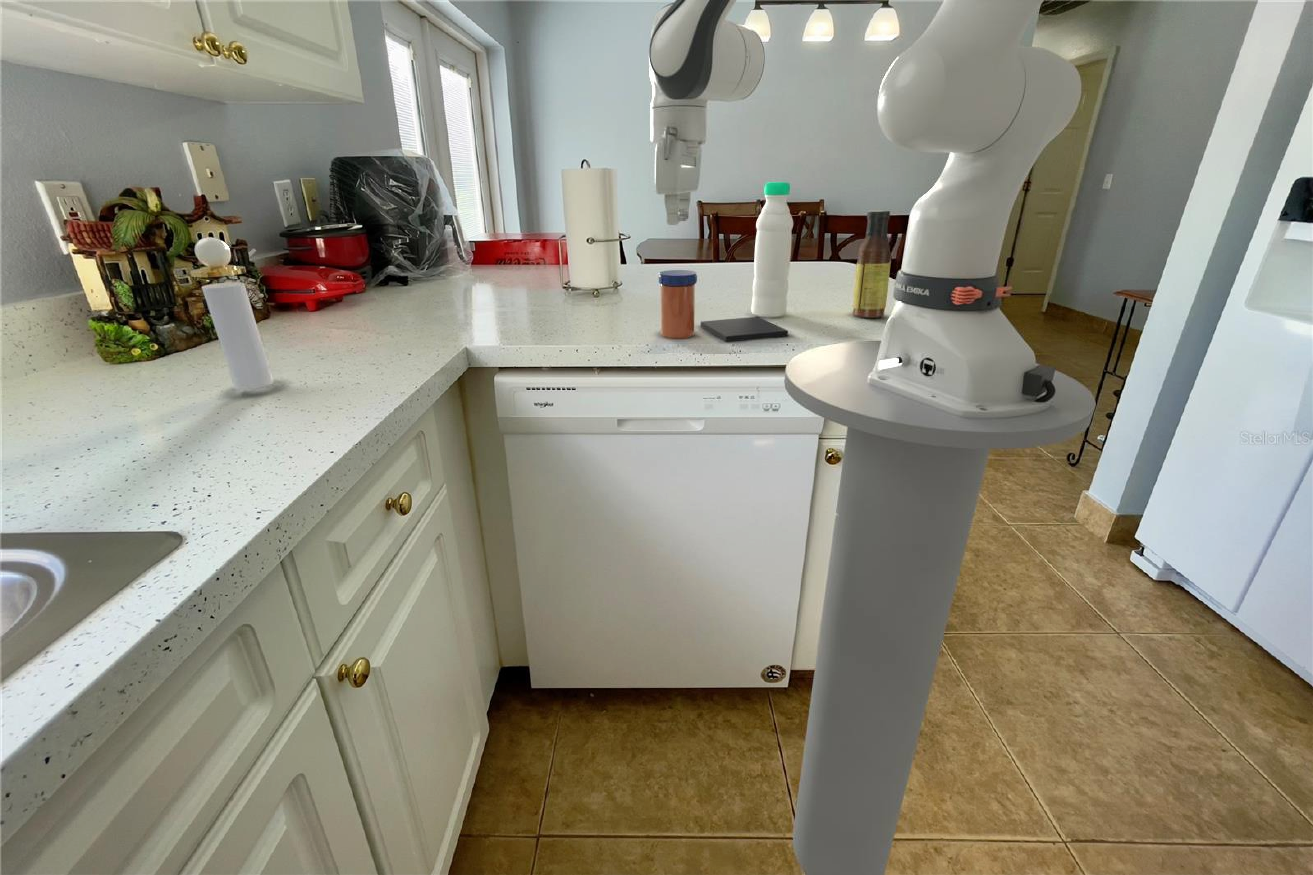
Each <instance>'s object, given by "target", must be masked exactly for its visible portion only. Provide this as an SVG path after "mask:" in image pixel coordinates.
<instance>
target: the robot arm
mask: <svg viewBox="0 0 1313 875" xmlns="http://www.w3.org/2000/svg"><path fill="white" fill-rule="evenodd" d="M1044 1H1045V0H943V1H942V4H941V6H940V8H939V9H938V10H937V12H936V14H935V16H934V17H933V19H932V21H931V22H930V24H929V25H928V26H927V28H926V29H925V31H924V32H923V33H922V34H921V35H920V36H919V38H918V39H916V41H915V42H914V43H913V44H911V45H910V46H908V48H906V50H904V51H903V52H902V53H901V54H900V55H899V56H897V57H896V58H895V59H894V61H893V62H892V64H891V65H890V67H889V68H888V70H887V72H886V73H885V76H884V78H883V79H882V81H881V83H880V84H881V85H880V88H879V91H878V96H877V103H876V107H877V108H876V113H877V120H878V125H879V128H880V130H881V132H882V134H883V135H884V136H885V137H886V139H887V140H888V141H890V142H892V143H893V144H897V145H899V146H902V147H904V148H907V149H911V150H914V151H918V152H922V153H927V154H930V153H931V154H932V153H933V154H943V153H944V154H949V155H948V158H947V161H946V163H945V165H944V167H943V170H942V172H941V174H940V176H939V178H937V181H936V182H935V184H934V185H933V186H932V188H930V190H929V191H927V192H926V193H925V194H924V195H922V196H921V197H920V198H919V199H918V200H917V201H916V202H915V203H914V204H913V206H912V208H911V210H910V213H909V216H908V217H909V218H908V222H907V223H908V224H907V230H906V235H905V242H904V248H903V254H902V263H901V268H900V269H899V270H898V271H897V272H896V276H895V277H896V278H895V280H894V284H893V287H894V289H893V295H892V297H893V298H894V300H895V302H894V306H893V308H892V311H891V313H890V315H889V317H888V319H887V321H886V324H885V325H884V330H883V333H882V338H881V340H880V341H881V345H880V349H879V353H878V357H877V360H876V364H875V366H874V369H873V372H871V373H870V374H869V376H868V380H867V383H869V384H871V385H873V386H876V387H879V388H882V389H884V390H887V391H890V392H893V393H895V394H898V395H901V396H904V397H906V398H909V399H912V400H915V401H917V402H920V403H923V404H926V405H928V406H931V407H934V408H937V409H939V410H942V411H945V412H948V413H950V414H953V415H956V416H959V417H964V418H978V419H994V418H1008V417H1016V416H1023V415H1029V414H1033V413H1037V412H1041V411H1044V410H1046V409H1047V408H1049V407H1050V406H1051V402H1052V398H1053V396H1054V395H1055V391H1056V390H1055V386H1054V385H1053V383H1052V380H1053V377H1054V373H1055V370H1056V369H1057V368H1056V367H1054V366H1053V367H1052V366H1048V365H1043V364H1040V365H1038V366H1036V363H1037V361H1036V354H1035V352H1034V351H1033V349H1032V347H1030V346H1029V344H1028V343H1027V342H1026V341H1025V340H1024V338H1023V337H1022V335H1021V334H1020V332H1018V331H1017V329H1016V328H1015V327H1014V326H1013V324H1012V323H1011V322H1010V320H1009V319H1008V318H1007V316H1006V315H1005V314H1004V313H1003V311H1002V310H1001V309H1000V307H1001V306H1002V297H1010V296H1012V295H1011V293H1004V292H1007V291H1011V290H1012V289H1013V287H1012V286H1000V280H999V276H998V275H997V273H996V272H997V268H998V264H999V259H1000V256H1001V253H1002V252H1001V251H1002V247H1003V243H1004V239H1005V235H1006V231H1007V227H1008V224H1009V219H1010V216H1011V213H1012V210H1013V207H1014V204H1015V203H1016V199H1017V197H1018V195H1019V193H1020V191H1021V189H1022V187H1023V185H1024V183H1025V181H1026V179H1027V177H1028V175H1029V173H1030V172H1031V170H1032V168H1033V166H1034V164H1035V163H1036V161H1037V160H1038V158H1039V156H1040V155H1041V153H1042V152H1043V151H1044V149H1045V148H1046V146H1048V145H1049V143H1051V141H1052V140H1054V139H1055V138H1056V137H1057V136H1058V135H1059V134H1060V133H1061V132H1062V131H1064V130H1065V128H1066V127H1067V126H1068V125H1069V123H1071V121H1072V119H1073V117H1074V115H1075V113H1076V111H1077V109H1078V107H1079V104H1080V100H1081V96H1082V79H1081V75H1080V73H1079V71H1078V69H1077V67H1076V66H1075V65H1074V64H1073V63H1072V62H1071V61H1069V60H1067V59H1065V58H1064V57H1062V56H1061V55H1059V54H1057V53H1055V52H1053V51H1051V50H1049V49H1047V48H1044V47H1037V46H1030V45H1027V46H1026V45H1020V42H1021V40H1022V37H1023V35H1024V34H1025V32H1026V31H1027V28H1028V26H1029V24H1030V22H1031V21H1032V19H1033V17H1034V15H1035V14H1036V12H1037V11H1038V9H1039V8H1040V6H1041V5H1042V4H1043V3H1044ZM736 2H737V0H675V1H674V2H671V3H668V4H667V5H664V6H663V7H662V8H660V10H658V11H657V12H656V14H655V16H654V20H653V22H652V28H651V34H650V42H649V47H648V63H649V78H650V82H651V86H652V98H651V102H650V142H651V143H654V144H656V146H655V155H654V156H655V157H654V158H655V159H654V162H655V163H654V189H655V192H656V195H664V206H665V211H666V223H667V225H668V226H677V225H679V224H680V222H687V221H688V220H689V218H690V217H689V216H690V214H689V212H690V211H689V210H690V205H691V199H692V198H691V197H692V196H691V194H692V193H693V192H697V191H698V188H699V183H700V177H701V168H702V167H701V165H702V163H701V162H702V155H703V154H702V153H703V147H702V146H703V145H705V144H706V141H707V118H708V117H707V116H708V114H707V112H708V111H707V110H708V101H711V102H726V103H733V102H737V101H741V100H745V99H747V98H748V97H749V96H750V95H751V94H752V93H753V92H754V91H755V90H756V88H757V87H758V85H759V84H760V81H761V79H762V77H763V73H764V69H765V60H766V57H765V54H766V53H765V47H764V44H763V40H762V39H761V37H760V35H759V34H758V32H756V31H755V30H753V29H752V28H750V27H748V26H746V25H743V24H740V23H737V22H734V21H731V20H727V19H726V18H727V17H728V14H730V11H731V10H732V8H733V6H734V5H735V3H736ZM1056 371H1057V370H1056ZM1046 391H1047V392H1046ZM1044 392H1046V394H1045V393H1044Z"/></svg>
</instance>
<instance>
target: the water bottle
mask: <svg viewBox="0 0 1313 875" xmlns="http://www.w3.org/2000/svg"><path fill="white" fill-rule="evenodd" d="M763 192H764V198H765V204H764V205H763V207H762V209H761V210H760V211H761V212H760V214H759V216H758V218H757V220H756V223H755V229H756V235H755V242H754V243H755V244H754V245H755V246H754V258H753V259H754V260H753V261H754V262H753V275H754V277H753V281H752V299H751V310H750V311H751V313H752V315H754V316H755V317H759V318H780V317H783V316H784V315H786V313H787V308H788V306H787V305H788V302H787V301H788V300H787V295H788V290H789V273H790V266H791V265H790V264H791V254H792V241H793V240H792V237H793V236H792V230H793V227H794V220H793V217H792V214H791V213H790V212H791V211H790V207H789V205H788V202H787V199H788V198H789V195H790V192H791V185H790V183H789V182H788V181H768V182H766V183H765V184H764V188H763Z"/></svg>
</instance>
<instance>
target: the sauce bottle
mask: <svg viewBox="0 0 1313 875" xmlns="http://www.w3.org/2000/svg"><path fill="white" fill-rule="evenodd" d="M890 218H891V211H890V210H882V209H881V210H867V215H866V219H867V222H866V223H867V225H866V232H865V237H864V239H863V241H862V243H861V244H860V246H859V248H858V252H857V261H856V269H855V279H854V291H853V299H852V300H853V301H852V308H853V310H852V315H853V316H855V317H858V318H862V319H863V318H864V319H877V318H882V317H883V316H884V315H885V311H886V307H887V299H888V290H889V282H890V272H891V263H892V255H891V254H892V253H891V248H890V242H889V237H888V227H889V220H890Z"/></svg>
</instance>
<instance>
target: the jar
mask: <svg viewBox="0 0 1313 875" xmlns="http://www.w3.org/2000/svg"><path fill="white" fill-rule="evenodd" d="M695 304H696V284H693V285H686V286H669V285H662V284H660V335H661V336H662V337H663V338H667V339H687V338H692V337H694V335H695V313H696V312H695V308H696V307H695V306H696V305H695Z"/></svg>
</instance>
